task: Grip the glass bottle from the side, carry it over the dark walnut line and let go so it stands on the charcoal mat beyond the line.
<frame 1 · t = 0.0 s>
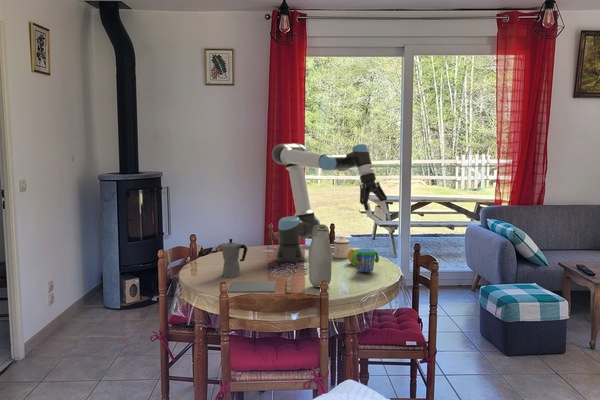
hand: (377, 215, 244), 28 cm above the table, tool tilted 20°, fingers open, 13 cm apart
dumbbell: (360, 266, 253), on the table, touching snack cup
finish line: (288, 287, 218), on the table
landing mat: (252, 286, 219), on the table
glass bottle: (320, 287, 218), on the table
snack cup: (365, 271, 241), point 1 cm above the table, touching dumbbell
teacup with lid: (339, 257, 277), on the table
coffeepot: (233, 275, 238), on the table
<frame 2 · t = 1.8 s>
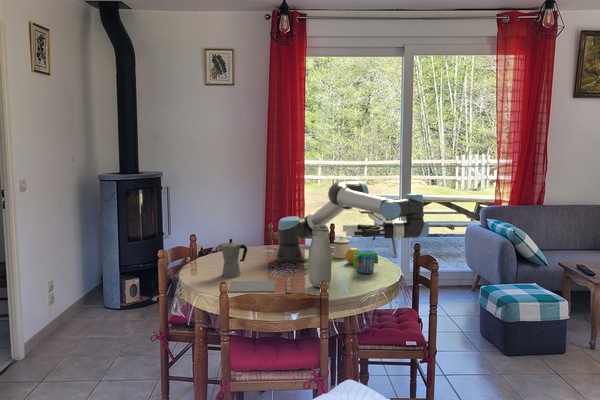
hand: (344, 230, 216), 25 cm above the table, tool horizontal, fingers open, 13 cm apart
dumbbell: (358, 267, 254), on the table, touching snack cup
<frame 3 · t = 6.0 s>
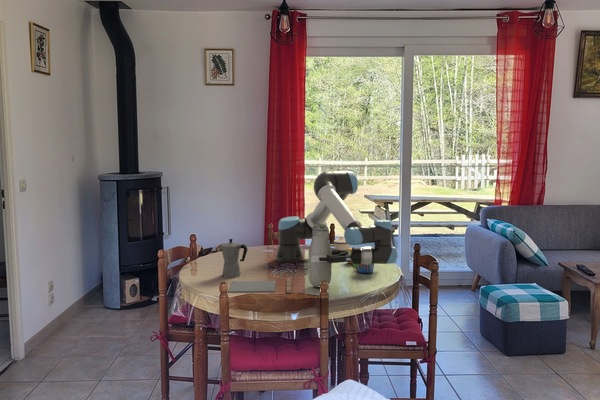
hand: (310, 255, 217), 14 cm above the table, tool horizontal, fingers closed on glass bottle, 10 cm apart
dumbbell: (358, 266, 255), on the table, touching snack cup
glass bottle: (320, 287, 218), on the table, touching gripper
snack cup: (365, 272, 243), on the table, touching dumbbell
everything else where it was.
when the fingers open (16 cm above the table, at t = 11.7 s): glass bottle drops 1 cm, resting on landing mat.
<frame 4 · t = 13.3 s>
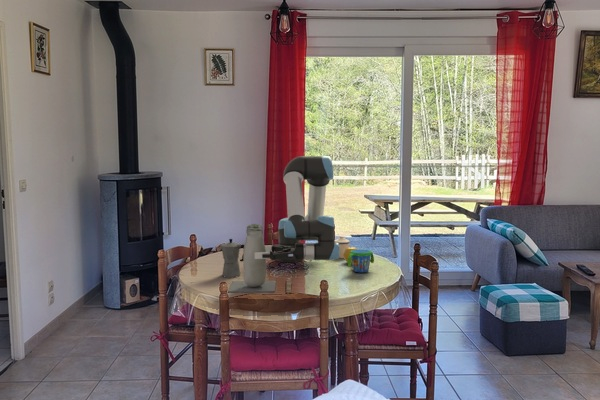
hand: (255, 252, 216), 16 cm above the table, tool horizontal, fingers open, 13 cm apart
dumbbell: (355, 266, 256), on the table, touching snack cup
glass bottle: (255, 286, 218), resting on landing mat
snack cup: (361, 271, 243), on the table, touching dumbbell
everything else where it was.
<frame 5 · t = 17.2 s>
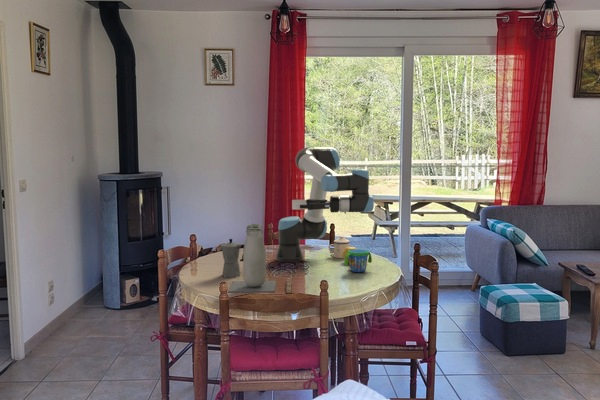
hand: (292, 204, 222), 36 cm above the table, tool horizontal, fingers open, 13 cm apart
snack cup: (358, 271, 244), on the table, touching dumbbell
at the end: glass bottle inside the target area (0.6 cm from its centre), resting on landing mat; glass bottle tilted 0°; the gripper is holding nothing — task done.
